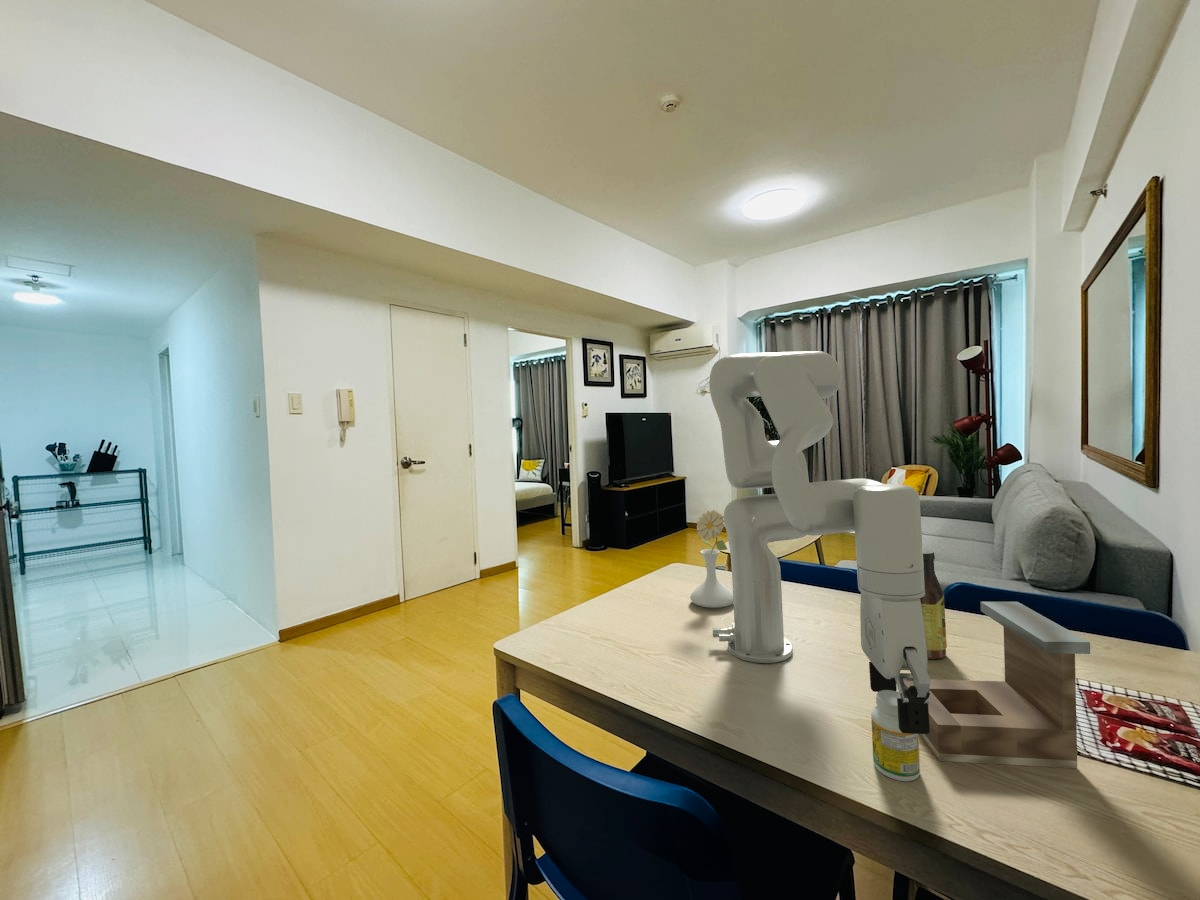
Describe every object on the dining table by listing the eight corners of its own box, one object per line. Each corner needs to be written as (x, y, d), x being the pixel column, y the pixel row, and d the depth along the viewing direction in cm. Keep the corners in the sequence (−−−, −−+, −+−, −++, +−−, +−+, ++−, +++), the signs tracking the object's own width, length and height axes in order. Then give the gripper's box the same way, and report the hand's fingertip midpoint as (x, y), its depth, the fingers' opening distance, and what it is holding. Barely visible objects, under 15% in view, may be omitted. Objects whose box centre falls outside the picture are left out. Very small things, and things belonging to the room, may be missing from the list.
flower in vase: (683, 600, 132) (677, 507, 131) (720, 593, 135) (715, 503, 134) (707, 617, 119) (701, 515, 118) (748, 609, 123) (743, 509, 122)
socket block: (942, 765, 65) (938, 640, 65) (899, 705, 79) (895, 601, 78) (1092, 774, 62) (1090, 642, 61) (1020, 710, 76) (1017, 601, 75)
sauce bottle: (953, 661, 92) (950, 555, 91) (916, 660, 93) (912, 556, 92) (937, 645, 98) (933, 546, 97) (902, 644, 99) (898, 547, 98)
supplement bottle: (916, 789, 62) (913, 714, 61) (868, 771, 65) (866, 701, 65) (923, 764, 66) (920, 694, 65) (877, 749, 69) (875, 683, 69)
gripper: (839, 563, 73) (846, 677, 74) (883, 602, 56) (892, 750, 57) (894, 562, 72) (901, 678, 72) (957, 602, 55) (965, 753, 55)
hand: (897, 710), depth 65 cm, fingers open, 9 cm apart
